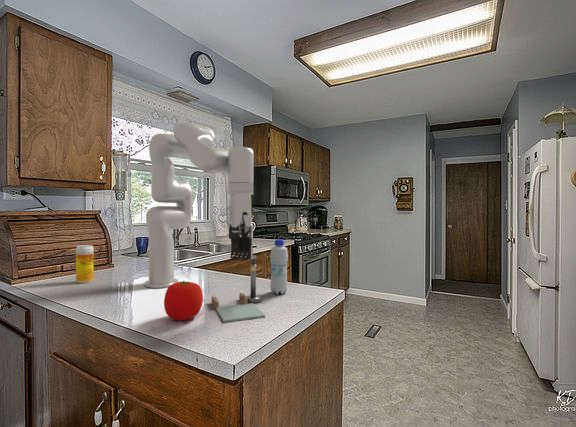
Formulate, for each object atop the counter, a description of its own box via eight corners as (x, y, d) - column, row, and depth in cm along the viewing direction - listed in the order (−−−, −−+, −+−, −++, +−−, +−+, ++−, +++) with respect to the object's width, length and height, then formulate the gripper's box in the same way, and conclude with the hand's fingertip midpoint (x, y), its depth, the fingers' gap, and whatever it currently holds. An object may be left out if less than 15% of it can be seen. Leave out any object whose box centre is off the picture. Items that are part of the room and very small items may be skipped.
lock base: (243, 300, 108) (243, 295, 108) (257, 298, 109) (257, 294, 109) (247, 304, 103) (247, 300, 103) (262, 302, 105) (262, 298, 105)
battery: (226, 259, 94) (226, 221, 93) (233, 257, 97) (233, 220, 97) (247, 261, 91) (247, 222, 91) (253, 259, 95) (253, 221, 94)
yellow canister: (87, 283, 127) (87, 246, 127) (72, 283, 127) (72, 246, 127) (96, 280, 133) (96, 244, 133) (82, 280, 133) (82, 244, 133)
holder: (211, 302, 104) (211, 295, 104) (242, 299, 108) (242, 292, 108) (215, 309, 98) (215, 301, 98) (247, 305, 102) (247, 298, 102)
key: (249, 306, 96) (250, 262, 96) (250, 294, 110) (250, 255, 109) (255, 306, 96) (256, 262, 96) (255, 293, 110) (256, 255, 109)
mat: (215, 309, 98) (215, 307, 98) (253, 304, 103) (253, 303, 103) (223, 322, 87) (223, 320, 87) (265, 317, 92) (265, 315, 92)
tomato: (169, 312, 95) (169, 276, 94) (205, 311, 96) (205, 276, 95) (158, 325, 84) (158, 285, 84) (198, 325, 85) (198, 285, 85)
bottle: (285, 295, 113) (286, 240, 113) (267, 294, 115) (268, 239, 114) (289, 291, 120) (290, 238, 119) (272, 289, 121) (272, 238, 121)
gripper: (222, 190, 100) (221, 246, 101) (235, 187, 84) (234, 254, 85) (245, 191, 103) (244, 245, 104) (261, 188, 87) (261, 252, 88)
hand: (240, 248), depth 94 cm, fingers closed on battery, 6 cm apart
